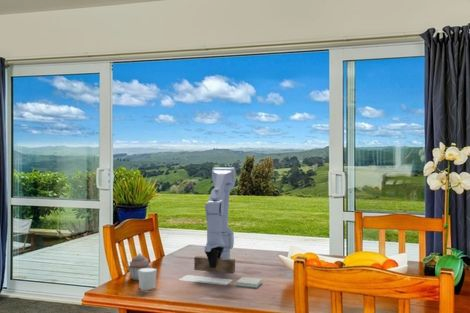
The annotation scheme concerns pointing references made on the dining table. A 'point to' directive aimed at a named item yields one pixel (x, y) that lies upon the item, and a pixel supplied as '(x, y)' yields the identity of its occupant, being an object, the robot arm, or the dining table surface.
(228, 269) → the bar
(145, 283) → the shot glass
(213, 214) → the robot arm
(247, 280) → the tile
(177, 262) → the dining table surface
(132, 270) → the cupcake
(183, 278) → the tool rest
